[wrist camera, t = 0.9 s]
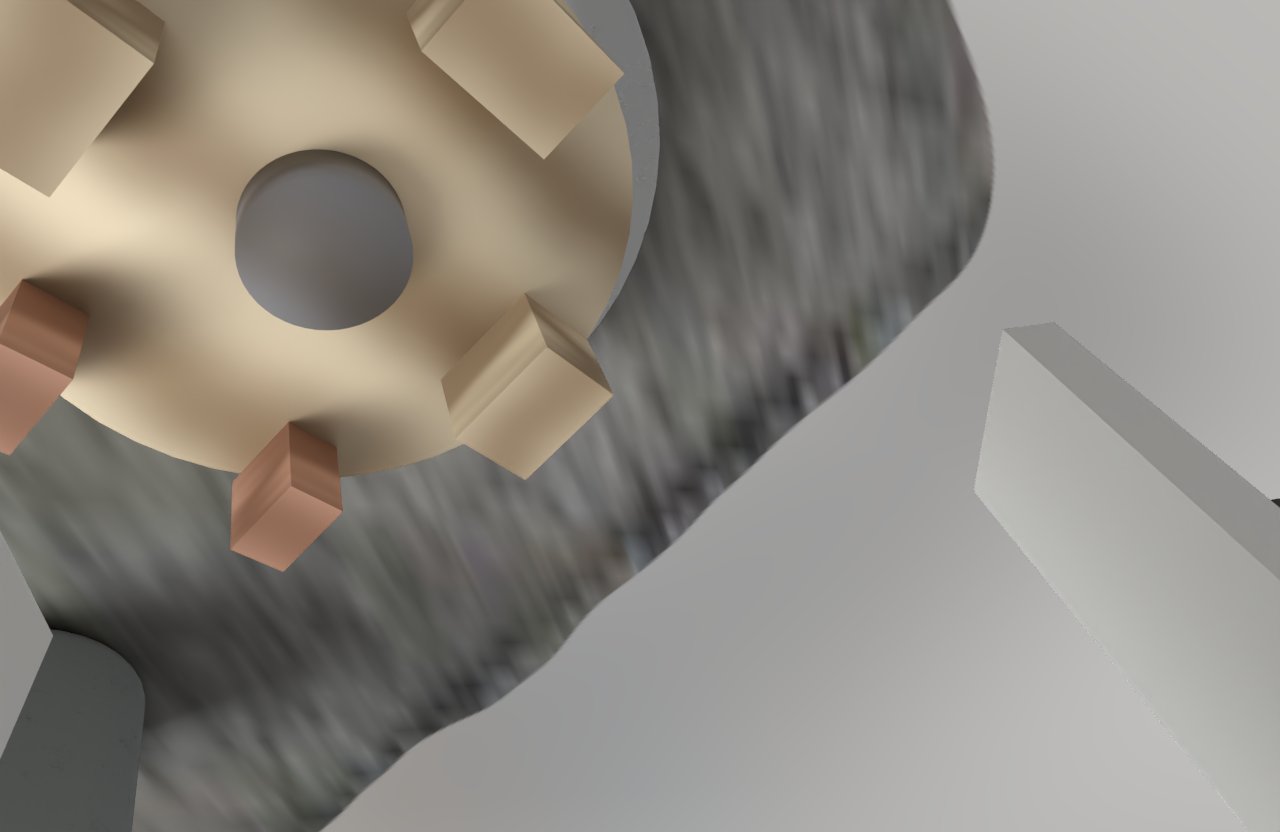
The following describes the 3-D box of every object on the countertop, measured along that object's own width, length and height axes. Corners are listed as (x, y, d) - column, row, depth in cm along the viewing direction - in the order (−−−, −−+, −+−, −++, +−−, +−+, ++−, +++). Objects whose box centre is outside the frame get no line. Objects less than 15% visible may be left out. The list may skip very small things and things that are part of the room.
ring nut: (231, -352, 24) (223, -355, 19) (716, 155, 36) (788, 234, 31) (-181, 227, 29) (-270, 344, 24) (370, 505, 41) (385, 620, 36)
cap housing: (-327, 2, 27) (-391, 39, 24) (449, -424, 26) (470, -433, 24) (233, 524, 42) (231, 581, 40) (725, 262, 42) (756, 303, 39)
